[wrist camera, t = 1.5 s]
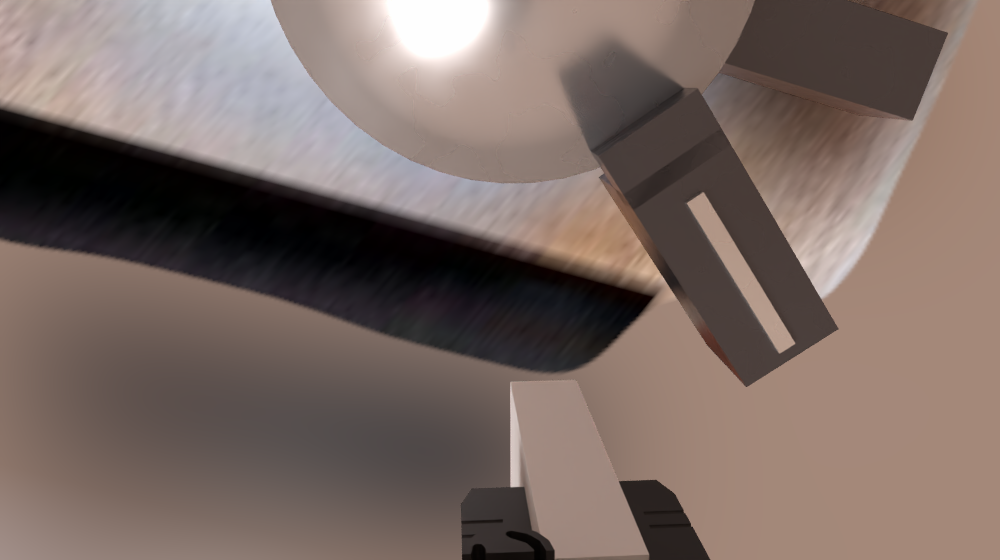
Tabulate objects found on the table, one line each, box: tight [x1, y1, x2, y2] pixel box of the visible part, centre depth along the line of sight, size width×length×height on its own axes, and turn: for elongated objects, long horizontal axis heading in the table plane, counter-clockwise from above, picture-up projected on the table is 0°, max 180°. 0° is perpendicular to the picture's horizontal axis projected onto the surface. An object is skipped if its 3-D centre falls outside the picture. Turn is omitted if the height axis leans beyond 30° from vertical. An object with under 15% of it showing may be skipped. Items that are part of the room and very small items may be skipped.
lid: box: [271, 0, 838, 387], centre depth 24 cm, size 15×24×5 cm, turn 34°
